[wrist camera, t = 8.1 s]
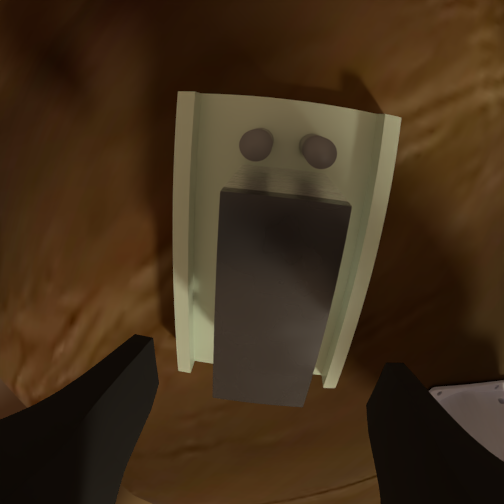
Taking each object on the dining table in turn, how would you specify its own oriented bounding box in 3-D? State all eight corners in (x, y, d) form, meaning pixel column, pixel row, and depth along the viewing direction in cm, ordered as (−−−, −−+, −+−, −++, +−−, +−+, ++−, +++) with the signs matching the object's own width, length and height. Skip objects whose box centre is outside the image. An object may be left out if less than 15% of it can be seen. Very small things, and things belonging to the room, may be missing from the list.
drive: (325, 174, 15) (352, 206, 9) (298, 328, 18) (302, 407, 13) (242, 164, 15) (219, 191, 10) (230, 321, 19) (212, 397, 13)
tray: (386, 117, 14) (421, 118, 10) (331, 365, 21) (339, 415, 17) (190, 94, 15) (160, 87, 11) (186, 349, 21) (168, 396, 17)
